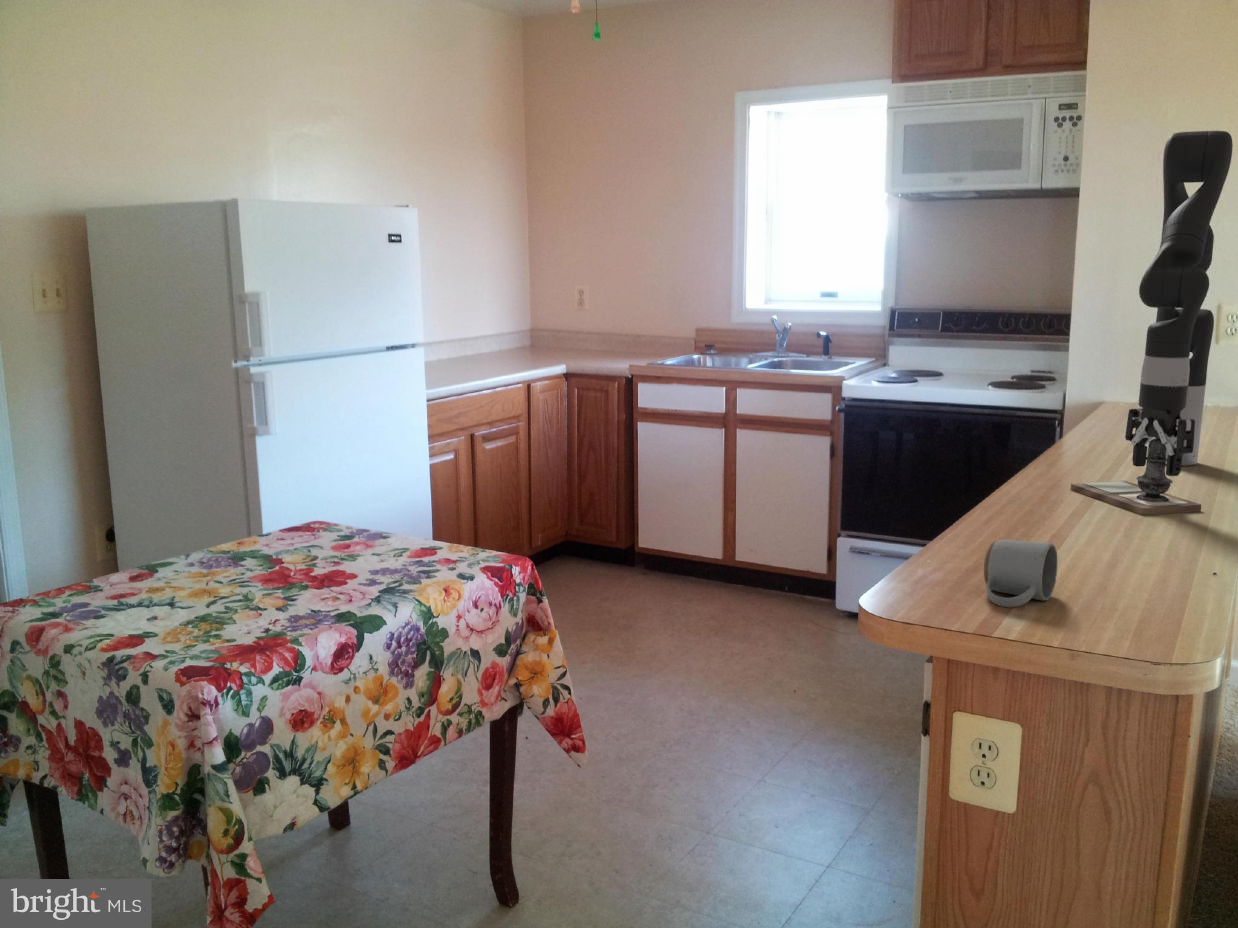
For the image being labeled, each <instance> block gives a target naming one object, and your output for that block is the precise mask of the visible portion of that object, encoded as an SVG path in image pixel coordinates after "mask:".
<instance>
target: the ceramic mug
mask: <svg viewBox="0 0 1238 928" xmlns="http://www.w3.org/2000/svg"><path fill="white" fill-rule="evenodd" d="M1057 576H1058V552H1057V548H1056V545H1054V544H1053V543H1051V542H1041V541H1039V542H1038V541H1025V540H1023V541H1022V540H1016V539H1015V540H1014V539H999V540H994V541H993V542H992V543H991V544H989V546H988V548H987V550H986V553H985V556H984V563H983V578H984V579H983V580H984V582H985V584H986V594H987V598H988V600H989V601H990V602H992V603H993V604H994V603H995V605H996V604H1000V605H1003V606H1009V607H1008V608H1016V607H1015V606H1017V607H1020V606H1023V605H1026V604H1027V603H1028V602H1030V600H1031V599H1032V600H1038V601H1044V602H1046V601H1049V599H1050V598H1051V597H1052V595H1053V592H1054V590H1055V586H1056V583H1057ZM992 590H993V591H995V592H998V593H1001V594H1008V595H1013V597H1012V596H1011V597H1003V596H999V595H996V594H995V593H993V592H992ZM1045 600H1046V601H1045ZM1003 606H1002V607H1003ZM1013 606H1014V607H1013Z"/></svg>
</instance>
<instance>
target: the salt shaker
mask: <svg viewBox="0 0 1238 928" xmlns="http://www.w3.org/2000/svg"><path fill="white" fill-rule="evenodd" d="M1166 449H1167V448H1166V446H1165V445H1164V444H1162V442H1161V439H1157V438H1156V439H1153V440H1151V441H1150V442H1149V449H1148V448H1147V450H1148V457H1147V456H1146V458H1145V459H1146V464H1145V467H1146V468H1145V471H1144V473H1143V475H1140V476H1137V477H1136V479H1135V480H1136V481H1137V484H1138V486H1139V488H1140V489H1141V490H1142V491H1143V492H1145V493H1143V494H1140V495H1137V496H1136V498H1137V499H1140V500H1143V501H1149V502H1167V501H1169V499H1168V498H1167V497H1166V496H1163V495H1160V494H1163V493H1166V492H1168V491H1169V489H1170V487H1171V484H1172V483H1174V482H1173V480H1172V479H1171V478H1168V477H1167V475H1166V465H1167V464H1166V461H1167V459H1166Z"/></svg>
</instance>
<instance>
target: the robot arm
mask: <svg viewBox="0 0 1238 928" xmlns="http://www.w3.org/2000/svg"><path fill="white" fill-rule="evenodd" d="M1233 147H1234V145H1233V138H1232V135H1231V133H1229V132H1228V131H1225V130H1196V131H1180V132H1178V131H1177V132H1173V133H1172V134H1171V135H1170V136H1169V137H1168V138H1167V140H1166V143H1165V145H1164V149H1163V159H1162V177H1163V178H1162V181H1163V182H1162V183H1163V217H1162V218H1163V219H1162V229H1161V239H1160V245H1159V249H1158V252H1157V254H1156V255H1155V257H1154V259H1153V260H1152V262H1151V264H1150V265H1149V266H1148V267H1147V269H1146V270H1145V272H1144V274H1143V276H1142V277H1141V280H1140V284H1139V287H1138V294H1139V297H1140V301H1141V302H1142V303H1143V304H1144V305H1145V306H1147V307H1149V308H1152V309H1153V308H1156V309H1157V312H1156V319H1155V322H1153V323H1150V325H1149V326H1148V327H1147V331H1146V336H1145V337H1146V341H1145V350H1144V352H1145V353H1144V358H1143V361H1142V362H1143V363H1142V367H1141V373H1140V385H1139V395H1138V406H1139V407H1140V408H1138V407H1137V408H1130V409H1129V410H1128V414H1127V420H1126V422H1127V423H1126V427H1125V437H1124V439H1125V440H1126V441H1129V442H1131V444H1132V446H1133V448H1132V449H1133V451H1132V458H1131V459H1132V465H1133V466H1134V467H1136V468H1137V467H1146V465H1147V460H1146V459H1145V458H1146V457H1148V449H1149V442H1150V441H1151V440H1153V439H1156V438H1157V439H1161V442H1162V444H1164V445H1165V446H1166V448H1167V449H1166V459H1167V461H1166V464H1165V465H1166V466H1165V475H1166V476H1169V477H1178V476H1179V475H1180V473H1181V471H1182V466H1195V465H1197V464H1198V459H1199V451H1200V442H1201V434H1202V433H1201V431H1202V424H1203V423H1202V422H1203V413H1204V405H1205V396H1206V395H1205V394H1206V387H1207V386H1206V385H1207V376H1208V375H1207V374H1208V366H1209V356H1210V351H1211V346H1212V340H1213V333H1214V329H1215V328H1214V327H1215V317H1214V313H1213V312H1212V310H1210V309H1205V308H1202V306H1203V303H1204V302H1205V298H1206V297H1207V294H1208V292H1209V288H1210V278H1209V275H1208V274H1207V271H1208V270H1209V269H1210V267H1211V265H1212V261H1213V254H1214V253H1213V250H1214V241H1215V235H1214V232H1213V229H1212V227H1211V225H1210V223H1211V220H1212V217H1213V215H1214V212H1215V209H1216V207H1217V204H1218V202H1219V199H1220V197H1221V194H1222V192H1223V189H1224V186H1225V183H1226V181H1227V180H1226V179H1227V177H1228V173H1229V170H1230V167H1231V163H1232V159H1233V158H1232V156H1233ZM1185 183H1187V184H1188V183H1202V184H1201V186H1199V188H1198V189H1197V190H1196V191H1195V192H1194V193H1192V195H1190V196H1189V194H1188V191H1187V189H1186V186H1185V185H1186V184H1185ZM1191 354H1192V355H1191ZM1190 355H1191V357H1190ZM1134 429H1135V430H1134ZM1133 432H1134V433H1133Z"/></svg>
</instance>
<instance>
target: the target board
mask: <svg viewBox="0 0 1238 928" xmlns="http://www.w3.org/2000/svg"><path fill="white" fill-rule="evenodd" d="M1070 491H1073V492H1075V493H1078V494H1081V495H1084V496H1087V497H1089V498H1093V499H1095V500H1097V501H1098V500H1099V501H1101V502H1103V503H1108V504H1109V505H1112V506H1115V507H1119V508H1120V509H1124V510H1126V511H1128V512H1132V513H1134V514H1138V515H1140V516H1148V515H1163V514H1176V513H1177V514H1178V513H1193V512H1201V510H1202V503H1199V502H1198V503H1197V502H1194V501H1191V500H1189V499H1185V498H1181V497H1179V496H1176V495H1172V494H1169V493H1166V492H1165V493H1163V494H1160V495H1163V496H1166V497H1167V498H1168V499H1169V501H1167V502H1149V501H1143V500H1140V499H1137V498H1136V496H1137V495H1140V494H1143V493H1145V492H1143V491H1142V490H1141V489H1140V488H1139V486H1138V483H1135V482H1130V481H1128V480H1112V481H1097V482H1095V481H1094V482H1078V483H1070Z"/></svg>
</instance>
